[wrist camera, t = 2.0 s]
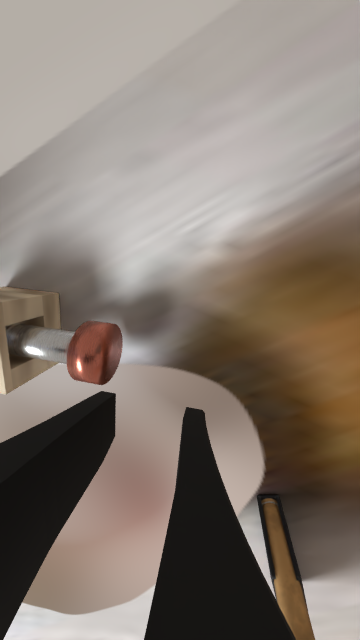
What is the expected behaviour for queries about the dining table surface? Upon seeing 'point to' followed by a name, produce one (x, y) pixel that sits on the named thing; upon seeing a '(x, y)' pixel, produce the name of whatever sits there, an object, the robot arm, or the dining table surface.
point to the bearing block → (30, 309)
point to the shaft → (71, 348)
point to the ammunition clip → (284, 567)
